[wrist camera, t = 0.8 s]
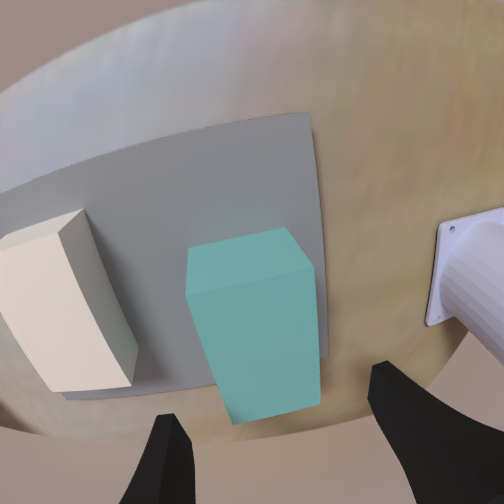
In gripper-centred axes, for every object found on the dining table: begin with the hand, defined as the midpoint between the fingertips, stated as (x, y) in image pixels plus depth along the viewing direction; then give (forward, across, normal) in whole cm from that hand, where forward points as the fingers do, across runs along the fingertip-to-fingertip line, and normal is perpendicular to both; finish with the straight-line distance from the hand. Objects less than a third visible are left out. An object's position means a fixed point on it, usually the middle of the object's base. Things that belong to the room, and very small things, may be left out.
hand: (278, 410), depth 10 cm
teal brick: (+6, 0, 0) cm, 7 cm away
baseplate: (+8, +5, -2) cm, 9 cm away
